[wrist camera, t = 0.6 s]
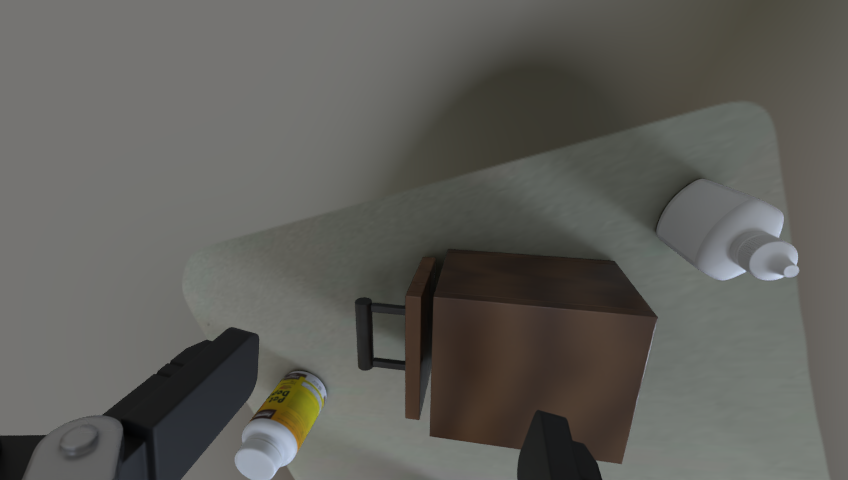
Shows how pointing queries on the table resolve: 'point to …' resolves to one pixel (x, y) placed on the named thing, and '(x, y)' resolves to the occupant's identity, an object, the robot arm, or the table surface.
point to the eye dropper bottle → (727, 233)
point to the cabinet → (537, 349)
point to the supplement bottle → (280, 425)
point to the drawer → (416, 335)
